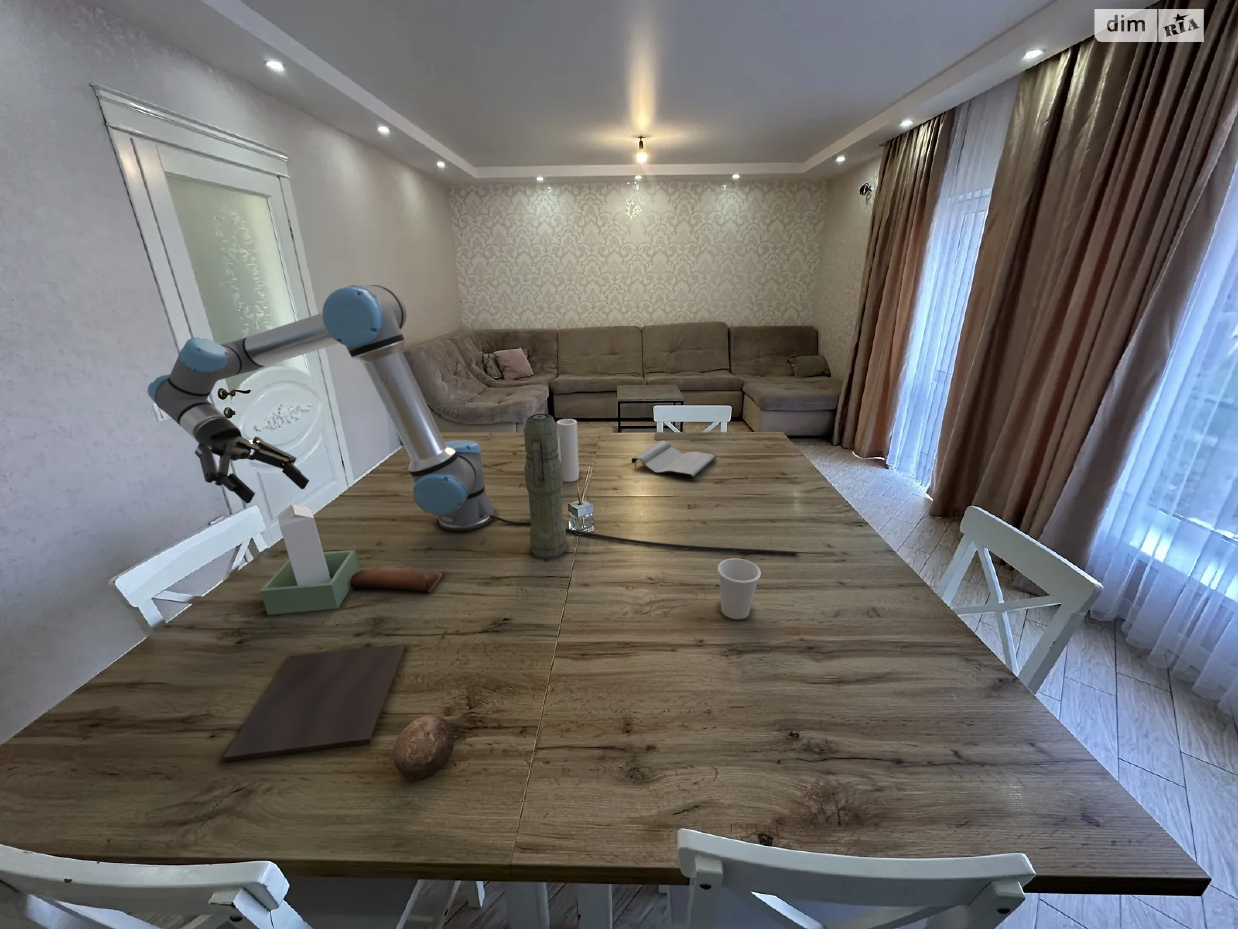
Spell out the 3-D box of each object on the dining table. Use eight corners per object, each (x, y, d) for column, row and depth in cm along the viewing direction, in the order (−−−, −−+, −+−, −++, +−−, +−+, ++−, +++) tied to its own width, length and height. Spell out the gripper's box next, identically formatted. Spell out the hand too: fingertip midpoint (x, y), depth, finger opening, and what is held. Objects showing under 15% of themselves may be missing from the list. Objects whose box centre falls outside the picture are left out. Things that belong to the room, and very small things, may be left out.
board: (405, 648, 91) (404, 643, 90) (370, 743, 72) (369, 738, 72) (291, 660, 88) (289, 655, 88) (224, 762, 70) (222, 757, 69)
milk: (303, 604, 103) (274, 512, 95) (300, 590, 107) (272, 501, 99) (335, 593, 106) (310, 503, 98) (331, 580, 111) (306, 493, 102)
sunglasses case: (444, 571, 113) (434, 558, 108) (435, 600, 109) (424, 588, 103) (372, 567, 115) (358, 554, 109) (360, 595, 110) (345, 583, 105)
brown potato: (406, 713, 73) (408, 706, 69) (458, 724, 75) (463, 717, 70) (384, 775, 68) (384, 771, 63) (440, 785, 70) (444, 782, 65)
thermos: (567, 536, 128) (560, 409, 115) (564, 561, 117) (557, 423, 104) (534, 537, 128) (523, 409, 115) (528, 562, 117) (515, 424, 104)
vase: (579, 473, 168) (577, 418, 161) (578, 482, 162) (576, 424, 154) (546, 474, 168) (542, 419, 160) (544, 483, 161) (540, 425, 154)
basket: (360, 571, 114) (355, 549, 112) (337, 608, 101) (331, 584, 99) (298, 576, 112) (291, 554, 110) (267, 615, 100) (259, 591, 97)
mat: (693, 482, 161) (693, 469, 159) (631, 469, 172) (631, 457, 170) (716, 460, 179) (717, 448, 178) (659, 450, 190) (659, 438, 189)
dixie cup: (732, 628, 95) (736, 586, 91) (706, 604, 102) (709, 564, 98) (764, 615, 98) (769, 574, 95) (737, 593, 105) (741, 554, 102)
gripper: (257, 436, 122) (317, 491, 120) (141, 449, 98) (216, 518, 96) (269, 413, 120) (331, 469, 118) (155, 421, 96) (231, 491, 94)
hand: (280, 491), depth 107 cm, fingers open, 13 cm apart
